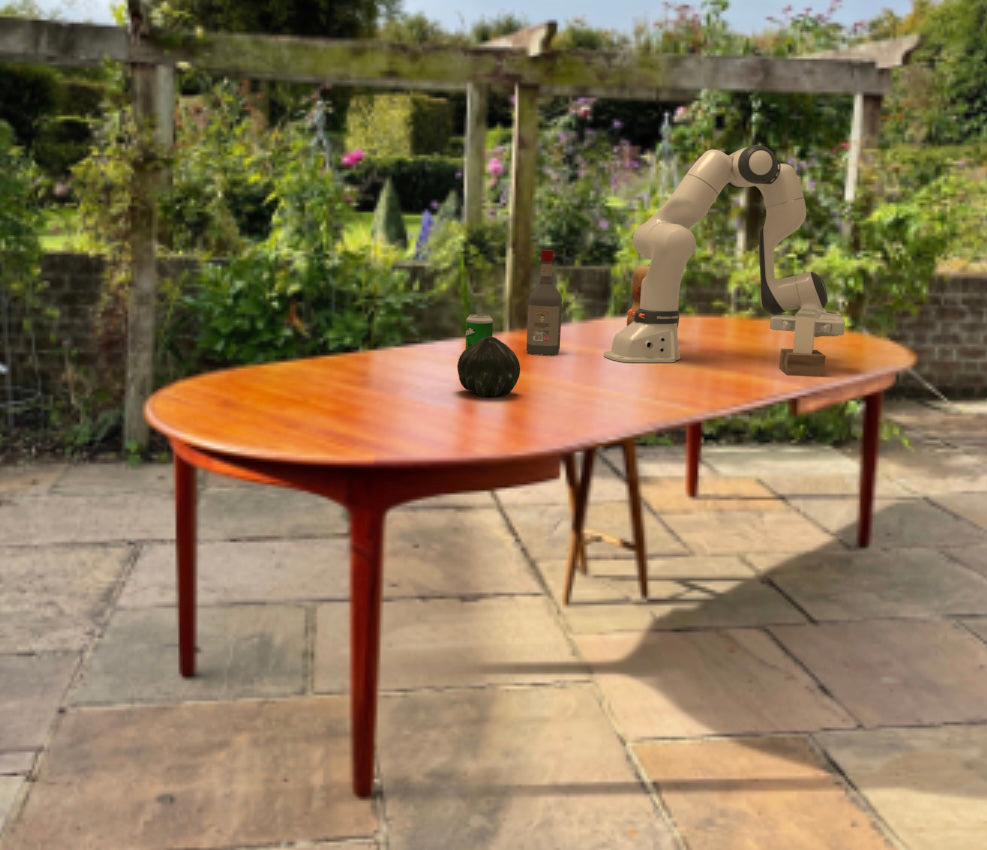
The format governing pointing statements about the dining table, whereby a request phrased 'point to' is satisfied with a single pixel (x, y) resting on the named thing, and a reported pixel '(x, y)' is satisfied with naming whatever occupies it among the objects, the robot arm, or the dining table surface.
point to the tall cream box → (804, 332)
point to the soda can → (478, 328)
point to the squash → (488, 368)
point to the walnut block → (802, 363)
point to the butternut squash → (637, 288)
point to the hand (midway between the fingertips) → (805, 328)
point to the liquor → (544, 312)
